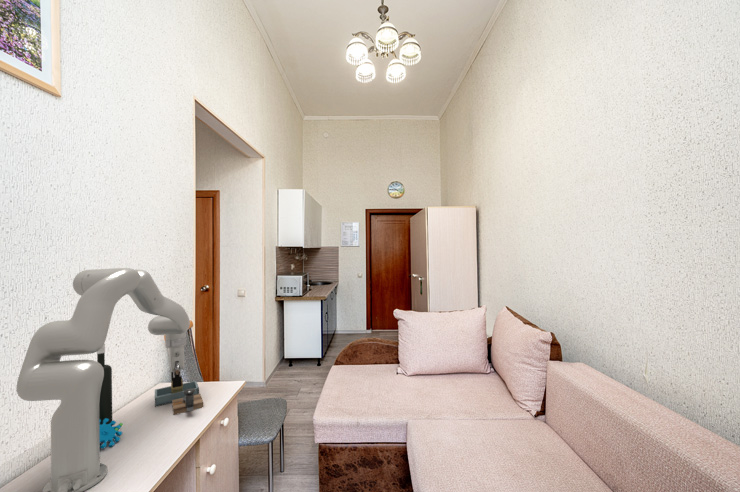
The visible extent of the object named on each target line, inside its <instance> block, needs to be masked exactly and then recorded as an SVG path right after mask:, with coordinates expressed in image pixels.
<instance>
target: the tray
mask: <svg viewBox="0 0 740 492" xmlns="http://www.w3.org/2000/svg"><path fill="white" fill-rule="evenodd" d="M191 388H194V389H195V392H194V395H197V394H200V388H199V385H198V381H197V380H194V381H189V382H183V391H181V392H177V393H172V394H171V385H170V386H165V387H160V388H156V389H154V407H155V408H157V407H160V406H166V405H169V404H172V400H176V399H180V398H183V397H185V396H186V395H185V394H184V391H185V390H187V389H191Z"/></svg>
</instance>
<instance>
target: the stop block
mask: <svg viewBox="0 0 740 492" xmlns="http://www.w3.org/2000/svg"><path fill="white" fill-rule="evenodd" d="M183 383H184V382H183V380H182V386H180V387H175V388H173V381H172V380H171V381H170V386H171V394H172V393H177V392H181V391H183Z"/></svg>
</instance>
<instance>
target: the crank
mask: <svg viewBox="0 0 740 492" xmlns="http://www.w3.org/2000/svg"><path fill="white" fill-rule="evenodd" d="M194 392H195V389H194V388H191V389H187V390H185V391H184V394H185V395H186V396H185V397H183V402H185V404H186V409H187V412H190V411H194V410H193V406H194Z"/></svg>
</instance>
